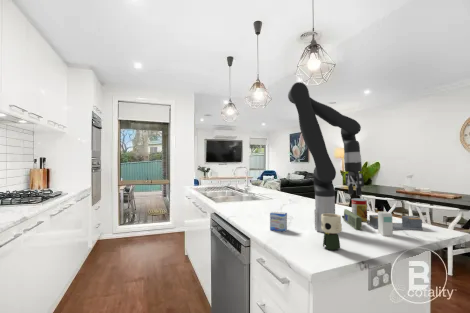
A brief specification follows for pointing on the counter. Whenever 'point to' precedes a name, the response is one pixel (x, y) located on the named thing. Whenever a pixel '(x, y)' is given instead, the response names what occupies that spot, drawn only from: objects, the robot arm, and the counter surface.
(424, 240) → the counter surface
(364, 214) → the canned food
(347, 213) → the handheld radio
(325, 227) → the character mug
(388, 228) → the block
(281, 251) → the counter surface
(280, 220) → the medicine box
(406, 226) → the grey stepped block
